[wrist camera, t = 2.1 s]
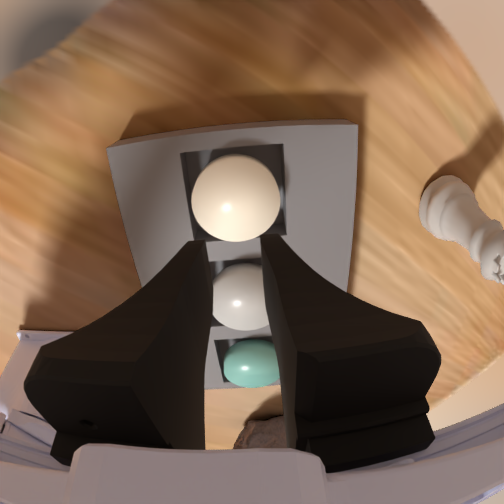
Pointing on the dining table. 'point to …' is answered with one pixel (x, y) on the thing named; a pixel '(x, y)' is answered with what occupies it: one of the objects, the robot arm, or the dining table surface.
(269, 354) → the teal button
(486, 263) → the rook chess piece
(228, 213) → the cream button
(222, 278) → the grey button
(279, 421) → the perforated stone tool
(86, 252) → the dining table surface
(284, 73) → the dining table surface
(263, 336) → the button board
